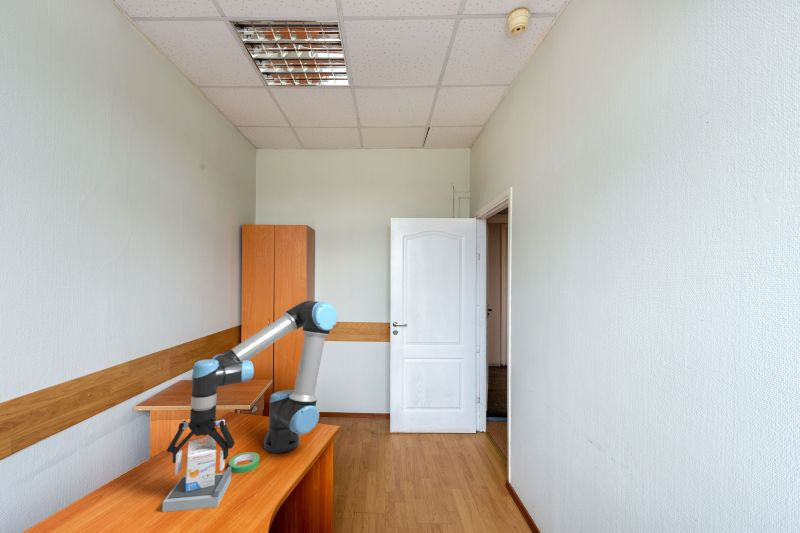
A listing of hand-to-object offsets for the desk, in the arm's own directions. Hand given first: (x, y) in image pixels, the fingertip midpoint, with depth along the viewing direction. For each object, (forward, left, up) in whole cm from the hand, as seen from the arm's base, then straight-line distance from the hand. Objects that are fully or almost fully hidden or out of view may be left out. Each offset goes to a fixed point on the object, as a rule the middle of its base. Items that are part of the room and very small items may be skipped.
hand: (200, 470), depth 113 cm
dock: (0, 0, -8) cm, 8 cm away
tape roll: (-10, -17, -9) cm, 22 cm away
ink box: (0, 0, -5) cm, 5 cm away
